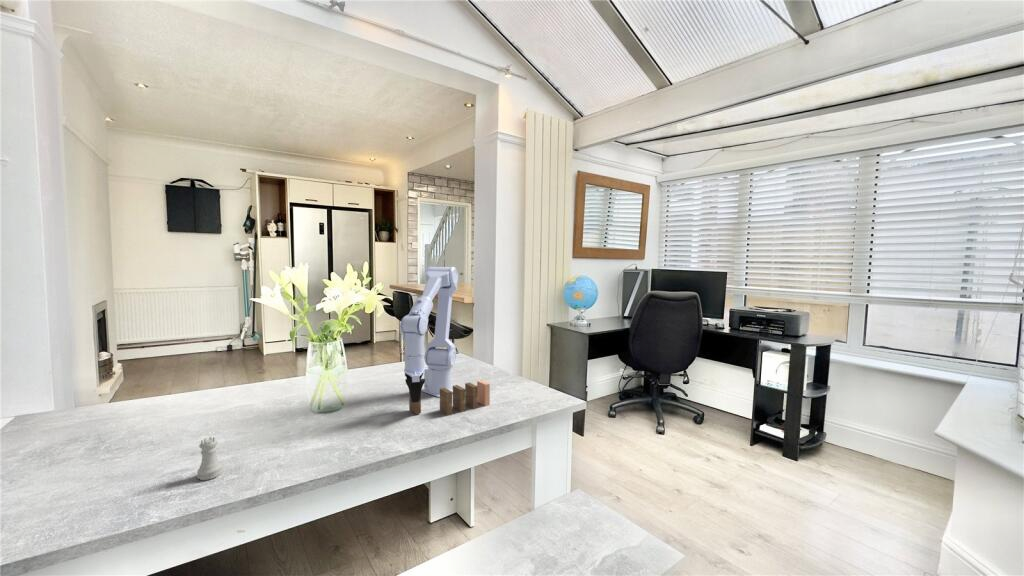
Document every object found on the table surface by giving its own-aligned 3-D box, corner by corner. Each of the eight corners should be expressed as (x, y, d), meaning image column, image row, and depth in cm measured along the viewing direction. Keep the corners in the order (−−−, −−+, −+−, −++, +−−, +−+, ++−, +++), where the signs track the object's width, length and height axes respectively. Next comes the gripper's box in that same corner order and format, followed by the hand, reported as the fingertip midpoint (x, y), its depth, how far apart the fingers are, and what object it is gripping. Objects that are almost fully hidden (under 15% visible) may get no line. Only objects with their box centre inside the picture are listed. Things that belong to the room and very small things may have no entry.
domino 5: (485, 406, 130) (485, 384, 130) (477, 401, 134) (477, 380, 134) (489, 405, 131) (489, 383, 131) (481, 400, 135) (481, 380, 135)
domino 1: (415, 414, 122) (415, 391, 121) (409, 409, 126) (409, 387, 125) (420, 413, 123) (420, 390, 122) (414, 408, 127) (414, 386, 126)
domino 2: (447, 415, 122) (447, 392, 122) (439, 410, 126) (439, 388, 126) (452, 414, 123) (452, 391, 123) (444, 409, 127) (444, 387, 127)
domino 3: (460, 412, 125) (460, 390, 124) (452, 407, 129) (452, 385, 128) (465, 411, 126) (465, 389, 125) (457, 406, 130) (457, 384, 129)
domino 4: (473, 409, 127) (473, 387, 127) (465, 404, 131) (465, 383, 131) (477, 408, 128) (477, 386, 128) (469, 403, 132) (469, 382, 132)
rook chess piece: (205, 470, 90) (204, 435, 89) (227, 469, 90) (225, 434, 89) (191, 481, 85) (189, 444, 85) (214, 480, 86) (212, 444, 85)
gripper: (429, 359, 117) (430, 405, 118) (426, 348, 131) (426, 389, 132) (404, 361, 115) (405, 407, 116) (403, 349, 129) (403, 391, 130)
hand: (414, 398), depth 124 cm, fingers closed on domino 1, 5 cm apart
